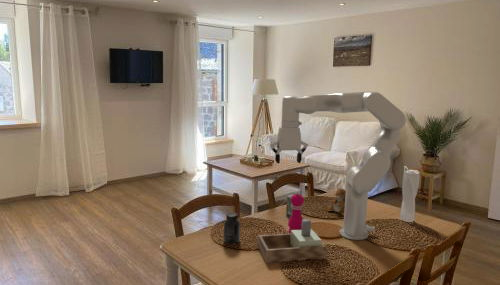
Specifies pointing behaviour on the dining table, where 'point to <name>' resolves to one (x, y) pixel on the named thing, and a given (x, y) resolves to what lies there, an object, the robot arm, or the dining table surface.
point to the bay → (287, 249)
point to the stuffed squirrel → (339, 201)
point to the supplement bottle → (232, 228)
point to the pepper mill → (296, 212)
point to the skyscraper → (409, 195)
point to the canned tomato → (289, 206)
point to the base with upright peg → (304, 236)
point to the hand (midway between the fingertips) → (288, 162)
